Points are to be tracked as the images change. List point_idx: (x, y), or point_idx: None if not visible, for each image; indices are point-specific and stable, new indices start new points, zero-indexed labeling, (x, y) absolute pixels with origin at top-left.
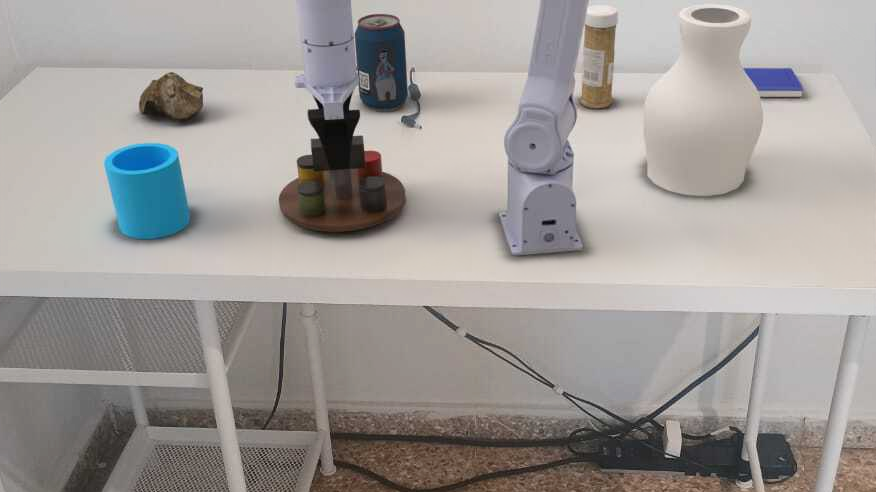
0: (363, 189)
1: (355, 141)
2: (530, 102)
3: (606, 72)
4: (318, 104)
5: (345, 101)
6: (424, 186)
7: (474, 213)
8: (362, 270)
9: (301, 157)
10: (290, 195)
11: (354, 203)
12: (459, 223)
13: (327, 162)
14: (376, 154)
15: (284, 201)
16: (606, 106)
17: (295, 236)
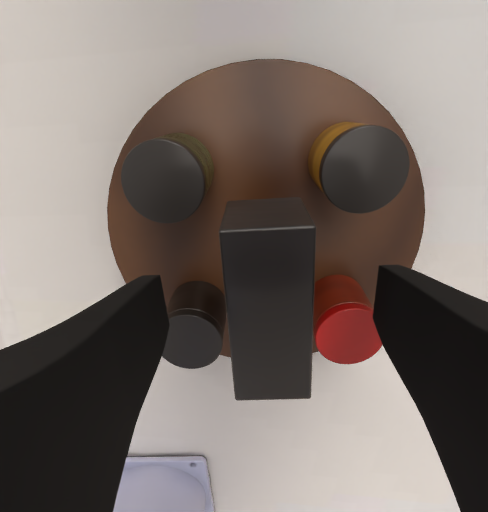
0: None
1: (258, 380)
2: None
3: None
4: (483, 341)
5: (452, 464)
6: (332, 370)
7: (219, 427)
8: (9, 264)
9: (392, 142)
10: (276, 98)
11: (214, 267)
12: (187, 408)
13: (126, 284)
14: (351, 355)
15: (240, 81)
16: None
17: (132, 118)
